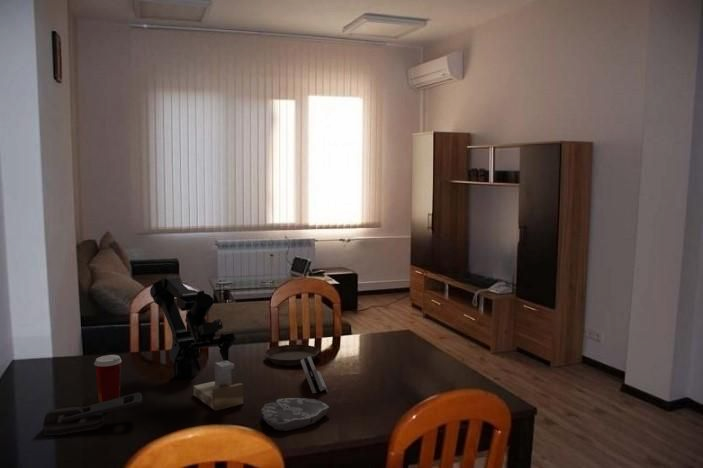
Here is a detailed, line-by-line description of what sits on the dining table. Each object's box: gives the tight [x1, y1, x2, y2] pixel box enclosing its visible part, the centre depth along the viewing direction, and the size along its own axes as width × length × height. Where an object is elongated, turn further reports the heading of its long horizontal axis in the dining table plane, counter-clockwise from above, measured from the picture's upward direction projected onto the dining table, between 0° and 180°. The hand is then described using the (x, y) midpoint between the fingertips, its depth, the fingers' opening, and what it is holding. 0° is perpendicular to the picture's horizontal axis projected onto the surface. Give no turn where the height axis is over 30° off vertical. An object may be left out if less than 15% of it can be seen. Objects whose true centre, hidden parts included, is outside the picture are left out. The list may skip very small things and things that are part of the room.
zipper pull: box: [42, 391, 143, 436], centre depth 159 cm, size 9×7×25 cm
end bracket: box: [214, 360, 235, 389], centre depth 173 cm, size 5×4×12 cm
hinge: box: [301, 356, 329, 394], centre depth 190 cm, size 17×5×10 cm, turn 11°
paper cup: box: [93, 354, 122, 403], centre depth 174 cm, size 8×8×14 cm
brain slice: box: [260, 397, 330, 432], centre depth 163 cm, size 20×17×3 cm
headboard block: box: [193, 380, 244, 411], centre depth 177 cm, size 16×9×6 cm, turn 38°
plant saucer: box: [264, 343, 320, 367], centre depth 219 cm, size 21×21×3 cm
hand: (213, 367), depth 179 cm, fingers open, 9 cm apart
